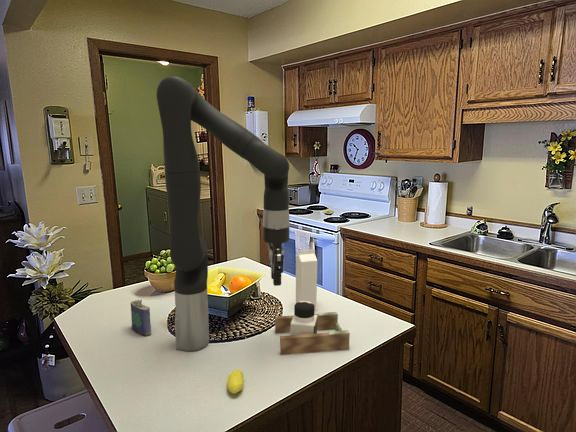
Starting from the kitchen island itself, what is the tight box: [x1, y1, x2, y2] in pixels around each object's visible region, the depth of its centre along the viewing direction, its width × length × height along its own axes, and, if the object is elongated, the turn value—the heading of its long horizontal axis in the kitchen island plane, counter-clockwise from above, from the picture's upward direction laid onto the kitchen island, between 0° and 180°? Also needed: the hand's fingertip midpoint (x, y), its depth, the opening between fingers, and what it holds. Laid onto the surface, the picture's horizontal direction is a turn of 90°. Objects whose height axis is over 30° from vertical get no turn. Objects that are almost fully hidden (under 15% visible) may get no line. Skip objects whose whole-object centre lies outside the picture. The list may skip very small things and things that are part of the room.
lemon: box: [226, 369, 245, 395], centre depth 95 cm, size 4×8×4 cm, turn 178°
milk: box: [295, 248, 318, 312], centre depth 138 cm, size 6×6×22 cm
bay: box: [274, 311, 351, 356], centre depth 118 cm, size 20×14×5 cm
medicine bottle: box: [289, 301, 318, 335], centre depth 117 cm, size 7×7×12 cm
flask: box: [130, 298, 152, 337], centre depth 122 cm, size 9×3×11 cm, turn 50°
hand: (276, 281), depth 113 cm, fingers open, 4 cm apart
